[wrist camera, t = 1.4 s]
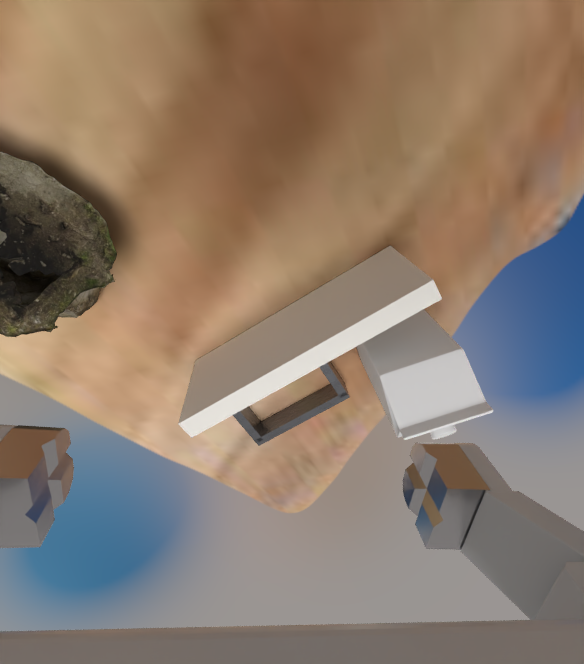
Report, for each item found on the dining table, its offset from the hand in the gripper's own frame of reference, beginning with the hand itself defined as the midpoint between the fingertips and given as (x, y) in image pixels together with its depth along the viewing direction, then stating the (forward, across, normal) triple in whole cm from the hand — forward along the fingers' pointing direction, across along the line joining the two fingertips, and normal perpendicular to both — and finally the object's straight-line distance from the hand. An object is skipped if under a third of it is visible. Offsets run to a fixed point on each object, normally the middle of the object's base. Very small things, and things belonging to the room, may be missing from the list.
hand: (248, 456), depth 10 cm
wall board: (+36, -6, +10) cm, 38 cm away
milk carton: (+36, -16, +10) cm, 41 cm away
